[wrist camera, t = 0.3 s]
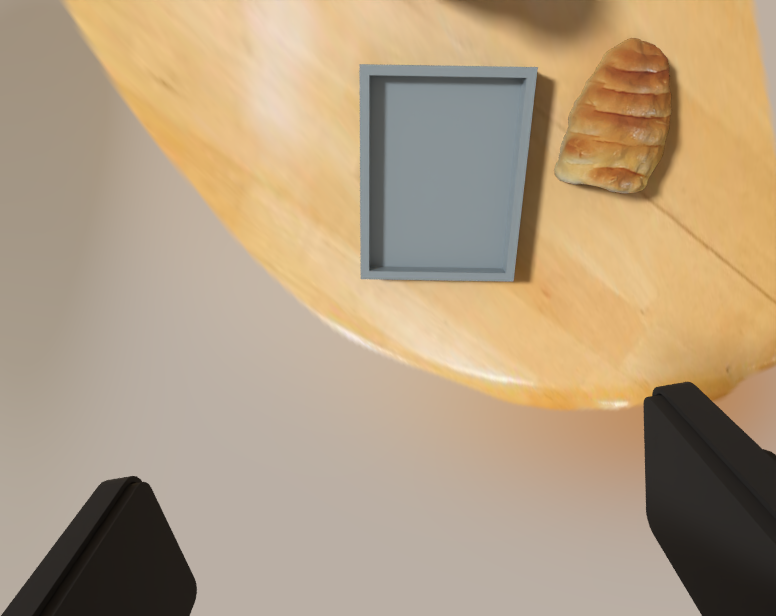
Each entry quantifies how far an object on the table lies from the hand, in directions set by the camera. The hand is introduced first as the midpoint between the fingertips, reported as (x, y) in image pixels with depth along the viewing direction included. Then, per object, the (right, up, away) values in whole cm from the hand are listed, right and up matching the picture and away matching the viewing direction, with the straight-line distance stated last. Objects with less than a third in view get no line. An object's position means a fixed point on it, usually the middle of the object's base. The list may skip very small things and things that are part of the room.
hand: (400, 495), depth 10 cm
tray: (+3, +13, +27) cm, 30 cm away
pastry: (+15, +16, +26) cm, 34 cm away
